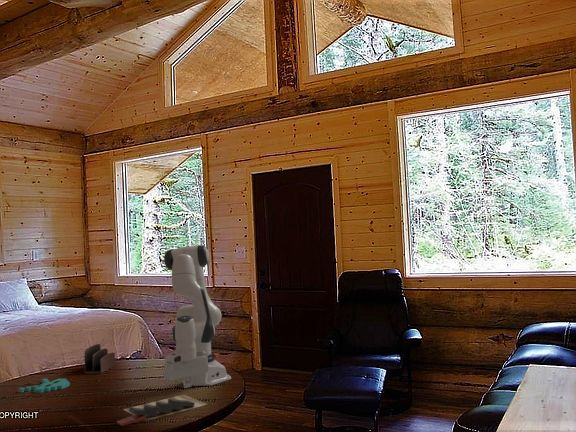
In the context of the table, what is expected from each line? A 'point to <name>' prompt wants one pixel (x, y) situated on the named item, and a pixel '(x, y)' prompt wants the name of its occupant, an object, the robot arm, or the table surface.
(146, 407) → the domino
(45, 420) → the table surface
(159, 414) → the birch board
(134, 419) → the red domino
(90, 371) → the letter holder
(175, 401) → the domino
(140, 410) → the domino
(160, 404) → the domino
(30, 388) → the alien figure
